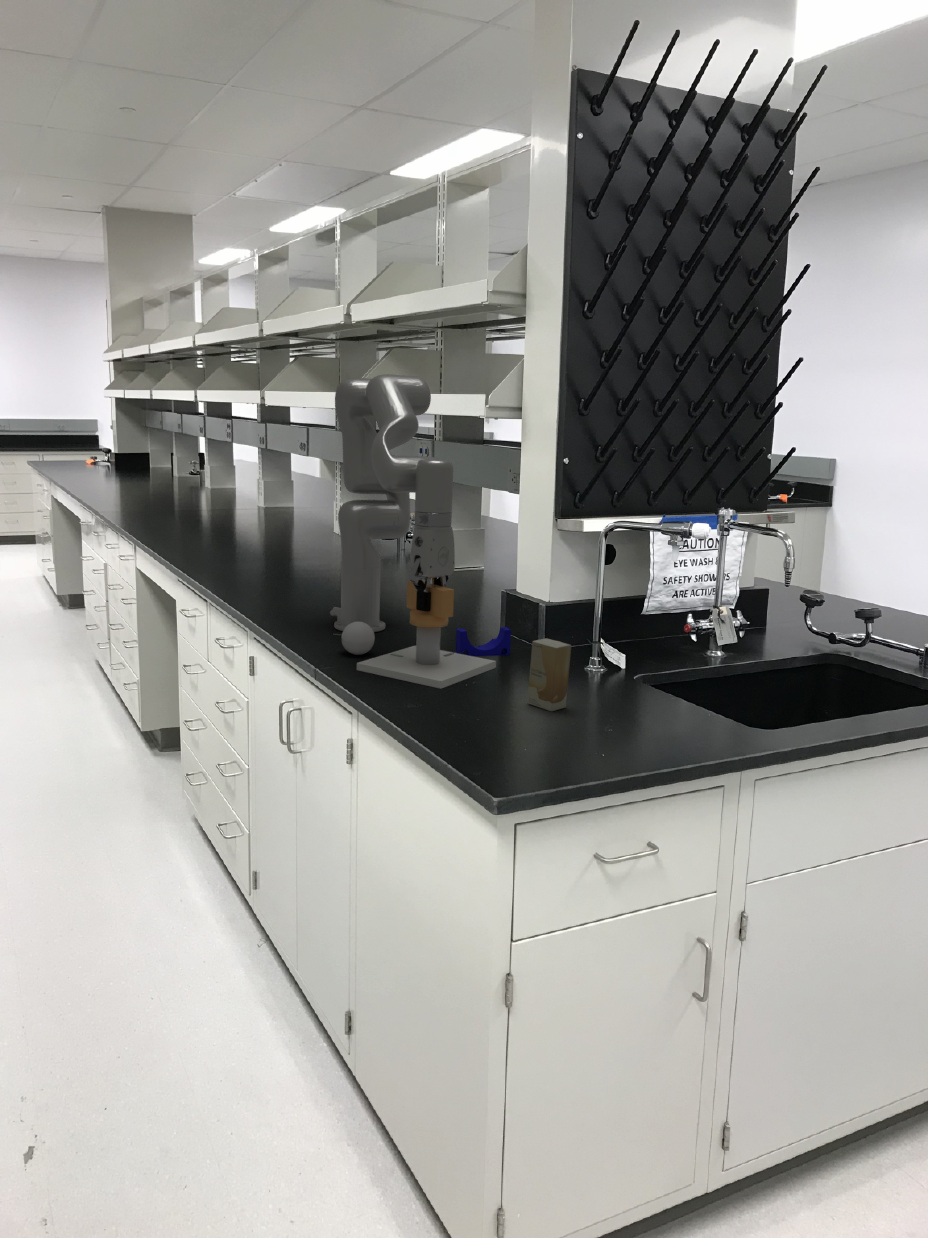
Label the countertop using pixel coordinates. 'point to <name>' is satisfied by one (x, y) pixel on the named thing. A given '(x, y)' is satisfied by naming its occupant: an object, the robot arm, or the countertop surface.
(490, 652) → the cable clip
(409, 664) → the coupling base
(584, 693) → the countertop surface
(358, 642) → the white ball
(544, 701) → the skincare box
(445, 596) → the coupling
